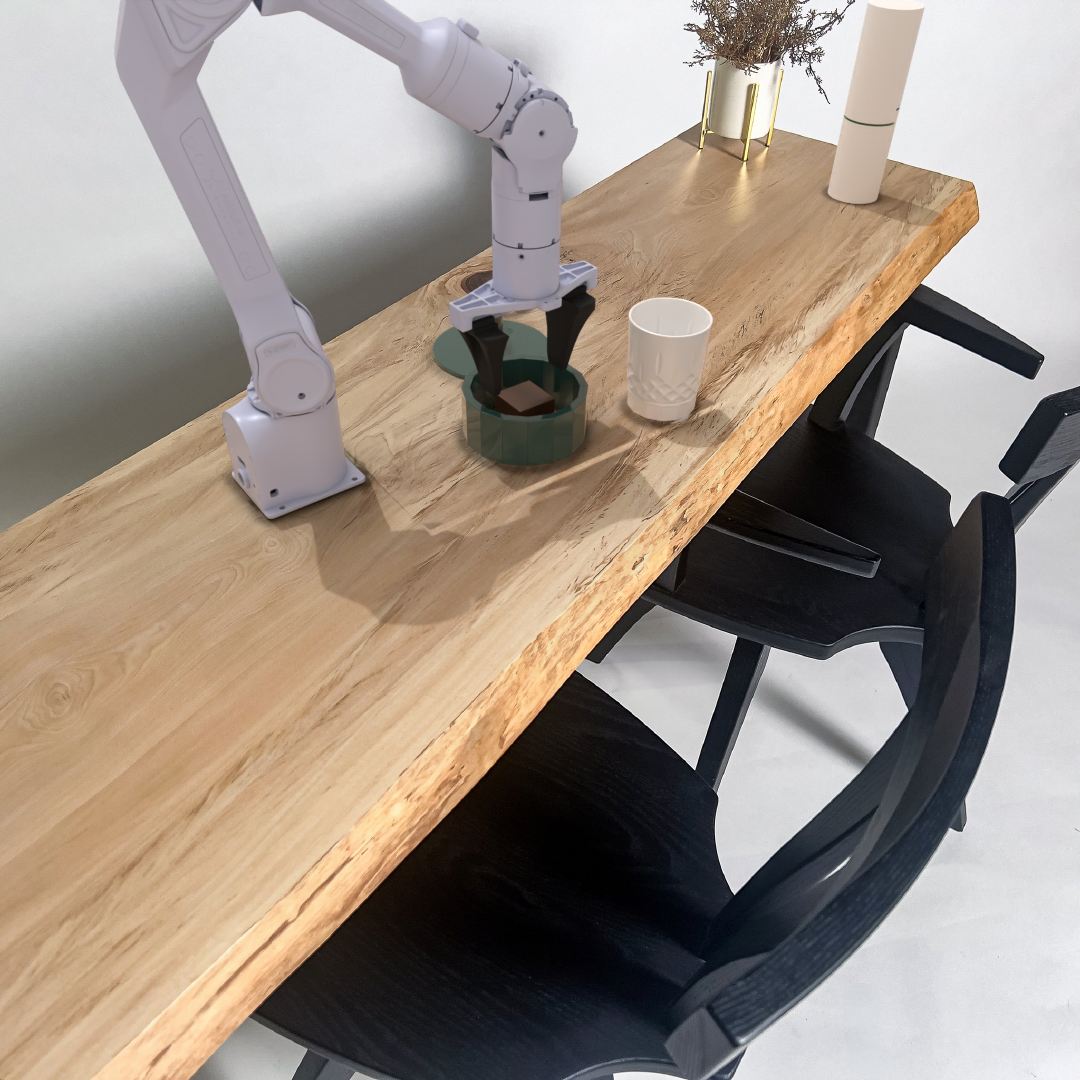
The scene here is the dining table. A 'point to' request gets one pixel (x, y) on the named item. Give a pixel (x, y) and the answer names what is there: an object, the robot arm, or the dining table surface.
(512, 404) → the block
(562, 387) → the crock
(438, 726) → the dining table surface
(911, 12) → the cylindrical container
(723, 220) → the dining table surface
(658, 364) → the white cup
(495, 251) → the robot arm
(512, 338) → the lid
